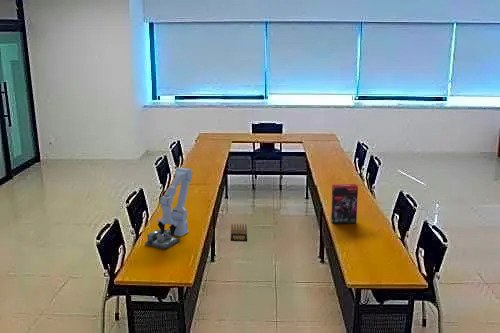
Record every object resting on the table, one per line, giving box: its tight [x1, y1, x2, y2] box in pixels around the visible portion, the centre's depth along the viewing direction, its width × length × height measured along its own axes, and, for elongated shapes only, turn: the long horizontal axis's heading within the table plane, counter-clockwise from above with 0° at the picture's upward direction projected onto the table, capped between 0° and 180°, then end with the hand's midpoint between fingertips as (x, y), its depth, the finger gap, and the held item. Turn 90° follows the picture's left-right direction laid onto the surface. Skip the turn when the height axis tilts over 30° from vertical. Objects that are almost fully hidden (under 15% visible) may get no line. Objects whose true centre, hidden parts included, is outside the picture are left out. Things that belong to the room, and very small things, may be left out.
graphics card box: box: [330, 183, 359, 225], centre depth 366 cm, size 17×7×27 cm, turn 96°
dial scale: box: [144, 228, 181, 251], centre depth 334 cm, size 15×16×6 cm
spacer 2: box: [163, 228, 172, 239], centre depth 335 cm, size 4×4×5 cm
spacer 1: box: [157, 233, 164, 243], centre depth 329 cm, size 4×4×5 cm
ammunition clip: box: [230, 223, 248, 243], centre depth 337 cm, size 11×2×12 cm, turn 85°
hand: (167, 234), depth 335 cm, fingers open, 7 cm apart
